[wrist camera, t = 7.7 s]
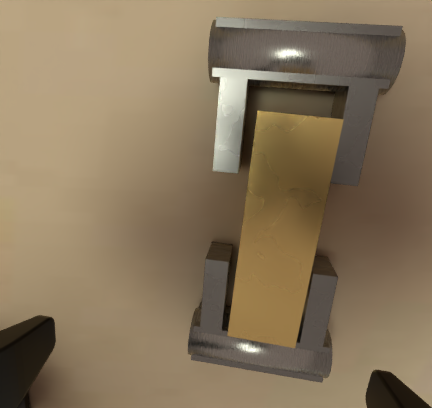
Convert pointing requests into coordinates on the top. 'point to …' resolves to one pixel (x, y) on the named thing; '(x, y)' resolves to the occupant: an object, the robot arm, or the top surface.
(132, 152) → the top surface
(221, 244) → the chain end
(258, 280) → the gold ingot
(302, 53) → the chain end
